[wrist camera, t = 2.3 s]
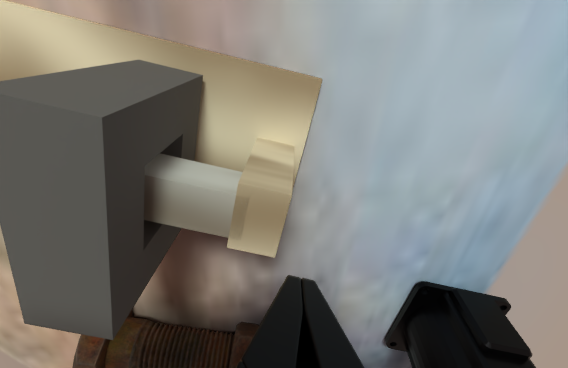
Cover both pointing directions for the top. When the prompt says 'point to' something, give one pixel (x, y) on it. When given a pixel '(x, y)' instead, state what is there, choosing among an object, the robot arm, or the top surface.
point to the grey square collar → (88, 186)
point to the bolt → (164, 347)
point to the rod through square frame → (211, 126)
